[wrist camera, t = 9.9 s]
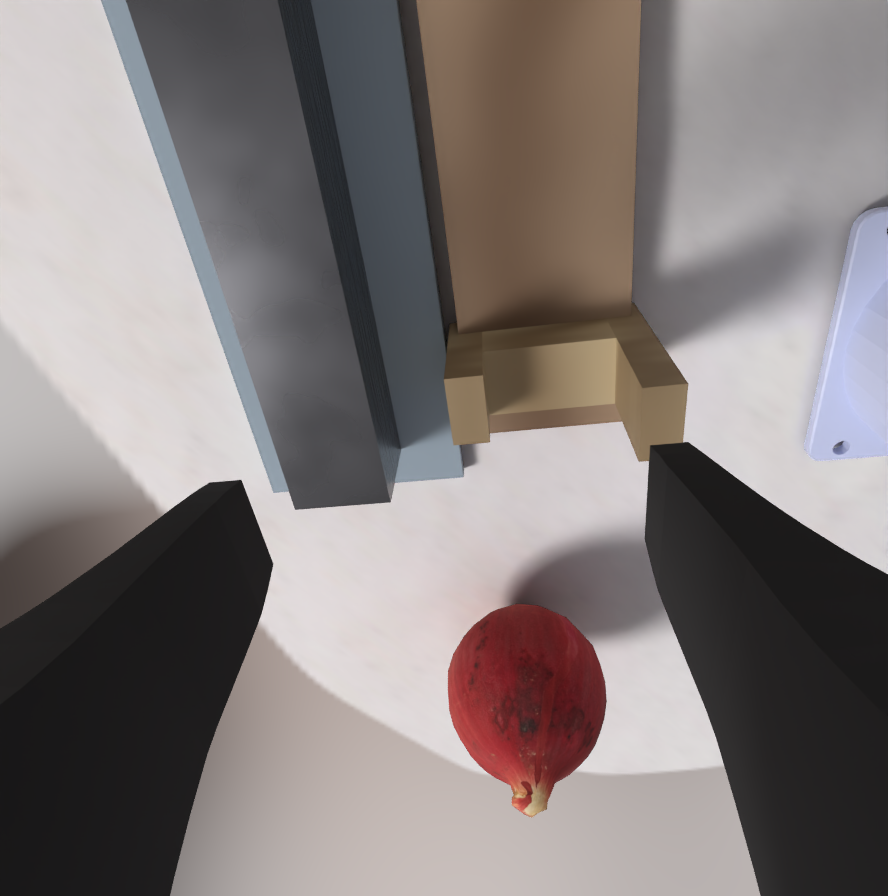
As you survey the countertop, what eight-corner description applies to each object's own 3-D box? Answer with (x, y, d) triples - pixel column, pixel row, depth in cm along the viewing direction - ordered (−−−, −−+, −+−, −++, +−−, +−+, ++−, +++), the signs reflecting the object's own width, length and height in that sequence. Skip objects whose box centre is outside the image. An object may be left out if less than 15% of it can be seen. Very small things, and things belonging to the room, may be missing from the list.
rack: (659, -410, 11) (791, -763, 6) (630, 405, 20) (677, 507, 15) (361, -339, 12) (283, -612, 7) (462, 420, 21) (458, 523, 16)
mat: (326, -509, 11) (320, -534, 10) (463, 469, 22) (463, 476, 21) (-30, -413, 11) (-50, -431, 11) (277, 484, 22) (273, 492, 22)
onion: (452, 557, 24) (442, 749, 17) (597, 563, 24) (646, 760, 17) (450, 654, 27) (441, 849, 20) (579, 660, 27) (613, 858, 20)
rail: (238, -358, 11) (168, -483, 9) (401, 449, 21) (390, 502, 18) (90, -321, 12) (-18, -432, 9) (317, 456, 21) (294, 509, 18)
